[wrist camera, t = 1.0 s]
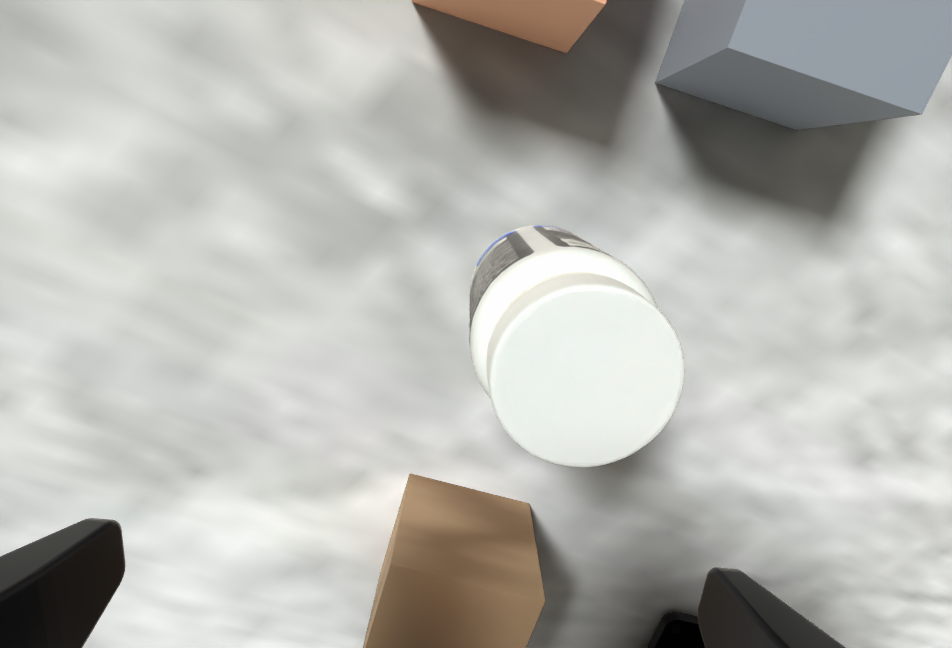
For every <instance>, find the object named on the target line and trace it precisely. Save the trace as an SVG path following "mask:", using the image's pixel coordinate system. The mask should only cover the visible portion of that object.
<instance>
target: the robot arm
mask: <svg viewBox="0 0 952 648" xmlns="http://www.w3.org/2000/svg"><path fill="white" fill-rule="evenodd" d="M124 572H125V557H124V548H123V539H122V530H121V526H120V524H119V523H118V522H117V521H115V520H108V519H95V518H90V519H85V520H82V521H80V522H78V523H76V524H73V525H71V526H69V527H67V528H64V529H62V530H60V531H57V532H55V533H53V534H51V535H48V536H46V537H44V538H41V539H39V540H37V541H35V542H32V543H30V544H28V545H26V546H23V547H21V548H19V549H16V550H14V551H12V552H10V553H7V554H5V555H3V556H0V648H82V647H83V646H84V644H85V642H86V641H87V639H88V637H89V635H90V634H91V632H92V630H93V629H94V627H95V625H96V624H97V622H98V620H99V619H100V617H101V615H102V614H103V612H104V610H105V609H106V607H107V605H108V603H109V602H110V600H111V598H112V597H113V595H114V593H115V592H116V590H117V588H118V587H119V585H120V583H121V581H122V578H123V576H124ZM675 624H676V625H675ZM672 625H674V626H672ZM648 648H845V647H844V646H843V645H841V644H840V643H838V642H837V641H836V640H834V639H833V638H832V637H830V636H829V635H828V634H826V633H825V632H823V631H822V630H821V629H819V628H818V627H817V626H815V625H814V624H813V623H811V622H810V621H808V620H807V619H806V618H804V617H803V616H802V615H800V614H799V613H798V612H796V611H795V610H793V609H792V608H791V607H789V606H788V605H787V604H785V603H784V602H783V601H781V600H780V599H778V598H777V597H776V596H774V595H773V594H772V593H770V592H769V591H768V590H766V589H765V588H763V587H762V586H761V585H759V584H758V583H757V582H755V581H754V580H753V579H751V578H750V577H748V576H747V575H746V574H744V573H743V572H741V571H740V570H737V569H729V568H712V569H711V570H710V571H709V572H708V575H707V578H706V581H705V585H704V589H703V593H702V596H701V600H700V604H699V608H698V617H695V616H691V615H686V614H682V613H678V612H671V613H668V614H666V615H664V617H663V618H662V619H661V621H660V623H659V625H658V628H657V630H656V632H655V634H654V636H653V638H652V640H651V642H650V644H649V646H648Z"/></svg>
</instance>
